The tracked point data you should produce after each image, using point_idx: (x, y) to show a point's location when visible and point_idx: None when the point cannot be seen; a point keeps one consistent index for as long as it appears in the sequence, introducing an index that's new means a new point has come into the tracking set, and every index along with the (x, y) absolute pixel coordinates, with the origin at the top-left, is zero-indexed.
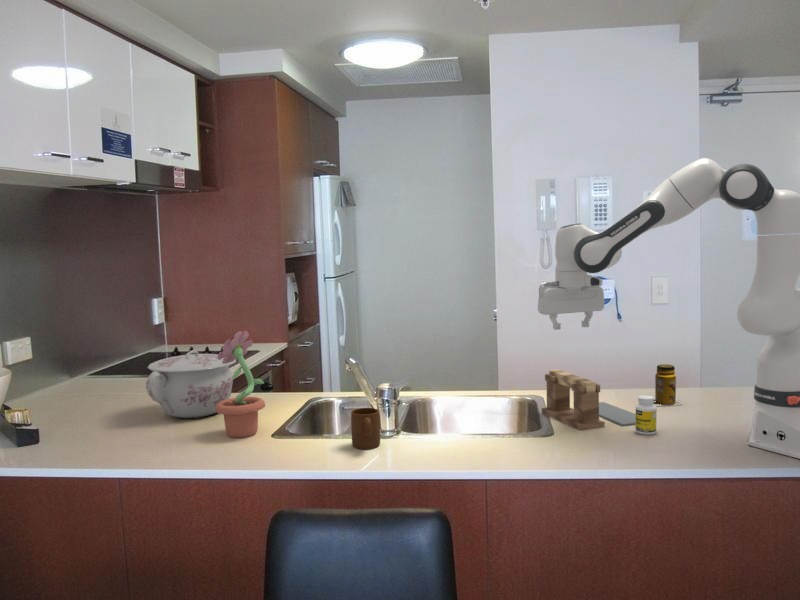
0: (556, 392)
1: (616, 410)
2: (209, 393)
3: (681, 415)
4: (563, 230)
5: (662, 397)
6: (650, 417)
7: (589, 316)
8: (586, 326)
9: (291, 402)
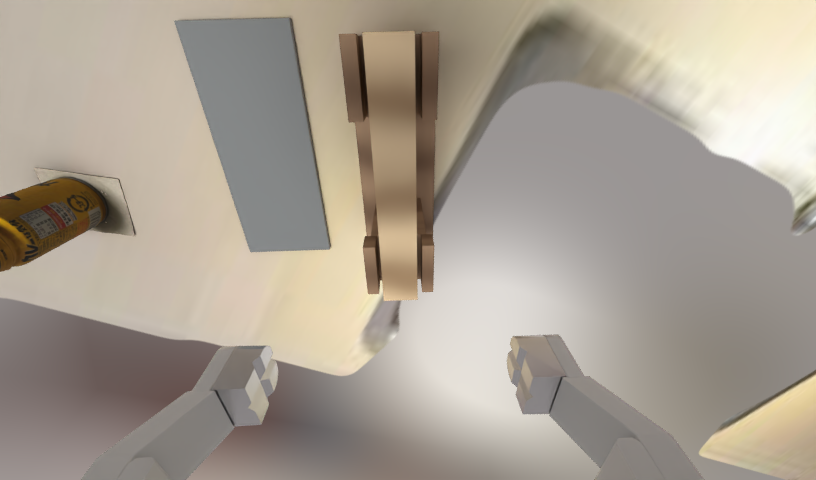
0: (419, 220)
1: (247, 169)
2: None
3: (57, 59)
4: None
5: (74, 194)
6: None
7: (153, 444)
8: (247, 347)
9: (758, 423)
